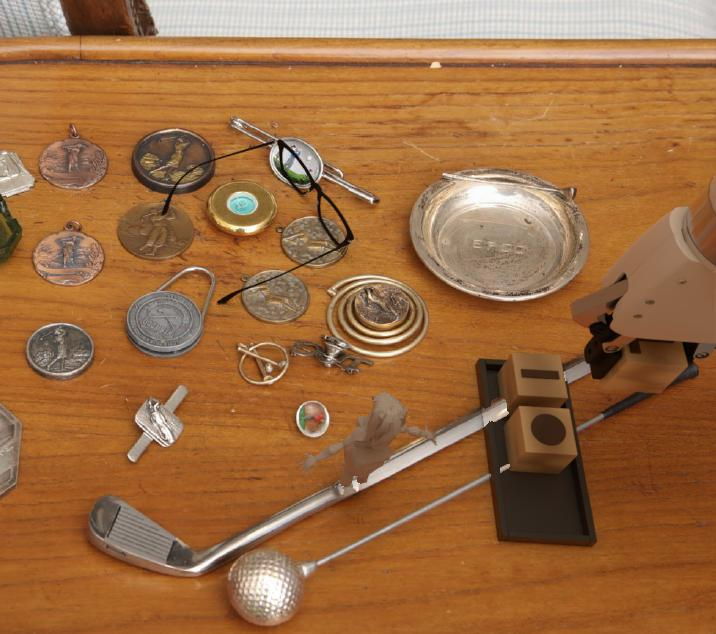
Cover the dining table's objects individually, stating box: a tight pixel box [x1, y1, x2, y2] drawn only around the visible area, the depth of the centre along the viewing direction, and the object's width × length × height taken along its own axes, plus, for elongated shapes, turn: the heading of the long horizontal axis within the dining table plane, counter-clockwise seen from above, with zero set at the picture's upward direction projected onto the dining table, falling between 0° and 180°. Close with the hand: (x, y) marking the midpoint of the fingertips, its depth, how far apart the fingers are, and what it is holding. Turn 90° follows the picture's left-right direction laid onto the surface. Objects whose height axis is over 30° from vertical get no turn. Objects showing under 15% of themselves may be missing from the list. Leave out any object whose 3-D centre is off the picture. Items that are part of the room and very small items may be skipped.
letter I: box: [497, 351, 568, 417], centre depth 86 cm, size 4×4×5 cm
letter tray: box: [474, 357, 598, 548], centre depth 85 cm, size 8×18×2 cm, turn 176°
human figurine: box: [298, 391, 438, 488], centre depth 76 cm, size 12×4×18 cm, turn 103°
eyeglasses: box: [161, 138, 355, 305], centre depth 97 cm, size 16×16×4 cm
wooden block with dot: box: [503, 406, 578, 474], centre depth 83 cm, size 4×4×5 cm
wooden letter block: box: [599, 338, 689, 394], centre depth 71 cm, size 4×4×5 cm
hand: (627, 364), depth 73 cm, fingers closed on wooden letter block, 4 cm apart
